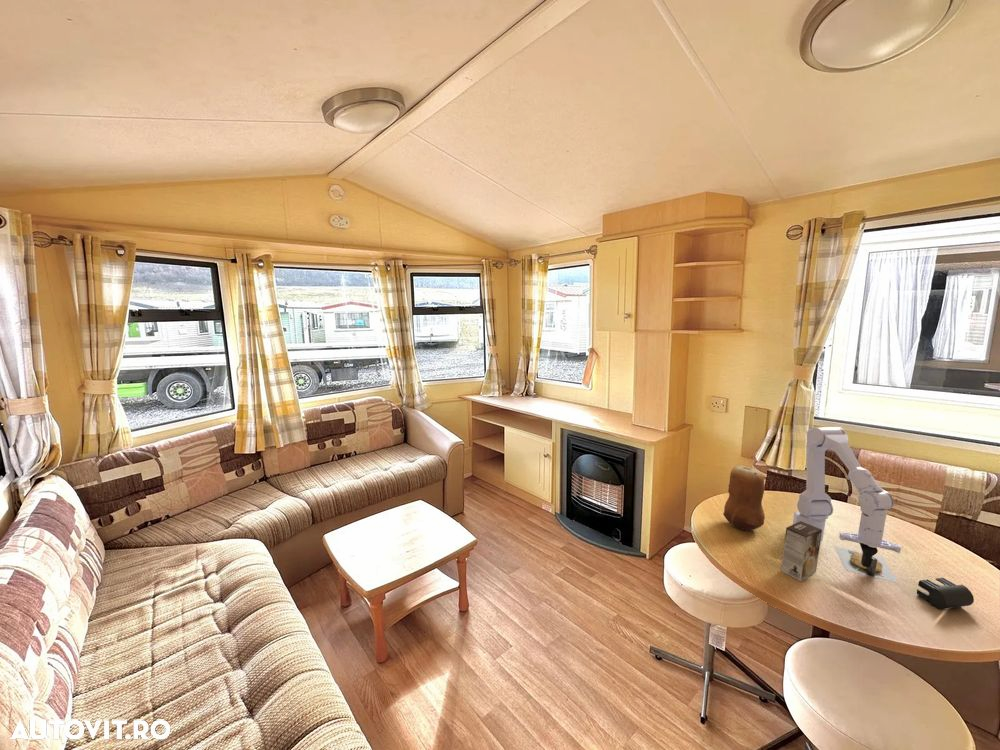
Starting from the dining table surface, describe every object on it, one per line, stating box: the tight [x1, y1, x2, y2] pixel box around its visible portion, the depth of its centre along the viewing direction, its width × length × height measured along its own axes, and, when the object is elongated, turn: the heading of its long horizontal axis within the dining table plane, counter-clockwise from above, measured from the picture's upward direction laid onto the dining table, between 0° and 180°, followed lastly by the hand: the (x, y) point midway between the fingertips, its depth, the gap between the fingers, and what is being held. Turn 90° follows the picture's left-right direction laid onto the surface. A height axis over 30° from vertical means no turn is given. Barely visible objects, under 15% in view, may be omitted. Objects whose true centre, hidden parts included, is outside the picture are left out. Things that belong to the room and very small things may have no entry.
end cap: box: [916, 577, 975, 610], centre depth 117 cm, size 10×7×7 cm
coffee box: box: [780, 521, 822, 582], centre depth 131 cm, size 9×6×16 cm
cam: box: [850, 554, 883, 577], centre depth 133 cm, size 10×8×6 cm
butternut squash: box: [722, 465, 766, 531], centre depth 157 cm, size 14×13×25 cm
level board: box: [835, 546, 899, 584], centre depth 135 cm, size 13×15×1 cm
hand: (865, 565), depth 130 cm, fingers closed, pressing on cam
